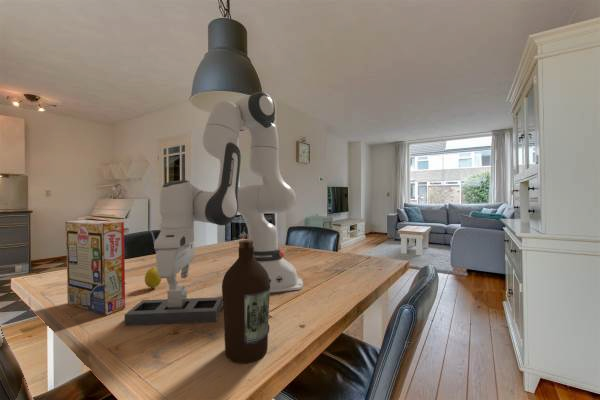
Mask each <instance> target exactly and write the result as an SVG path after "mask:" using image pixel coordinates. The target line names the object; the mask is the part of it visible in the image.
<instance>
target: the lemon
mask: <svg viewBox="0 0 600 400" xmlns="http://www.w3.org/2000/svg"><path fill="white" fill-rule="evenodd" d="M144 283H145V285H146V286H147V287H148V288H151V289H155V288H156V287H158V286H159V285H160V284H161V283H162V278H160V277H159V276H158V273H157V267H156V268H155V267H151V268H150V269H148V270H147V271H146V273H145V276H144Z"/></svg>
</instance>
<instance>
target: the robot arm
mask: <svg viewBox="0 0 600 400" xmlns="http://www.w3.org/2000/svg"><path fill="white" fill-rule="evenodd" d="M275 114H276V107H275V102H274V100H273V99H272V97H271V96H270V94H268V93H266V92H264V91H263V92H262V91H259V92H258V91H257V92H253V93H251V94H249V95H246V96H243V97H240V99H238V100H236V101H235V102H231V101H228V100H219V101H218V102H216V103H215V104H214V106H213V107H212V109H211V111H210V114H209V116H208V119H207V120H206V124H205V128H204V131H203V135H202V144H203V148H204V149H205V151H206V152H207V153H208V154H209V155H211V156H212V157H214V158H216V159H218V160H219V162H220V167H219V175H218V183H217V188H216V189H215V190H214V191H207V190H206V191H204V190H203V189H200V188H198V187H196V186H194V185H193V184H192V183H191V182H190V181H189V180H185V179H183V180H181V179H180V180H172V181H167V182H166V183H164V184H163V185H162V186H161V188H160V193H159V214H160V217H161V223H160V232H159V234H158V236H157V238H156V239H155V240H154V242H153V245H154V246H153V249H155V250H156V253H155V254H156V255H155V260H156V262H155V264H156V269H157V273H158V276H159V277H160V278H161V279H166V281H167V284H168V290H175V289H176V288H177V287H178V286H179V285H178V281H177V274H179V272H180V271H181V272H180V278H181V279H186V278H188V277H189V271H190V265H191V264H190V263H191V262H192V260H194V259H195V226H194V225H195V224H194V223H195V222H201V223H210V224H214V225H218V226H226V225H229V224H230V223H231V222H233V221H234V219H235V218H236V217H237V214H238V213H239V214H240V215H241V217H242V218H243V220H244V222H245V226H246V228H247V234H248V235H247V236H248V240H252V241H253V247H254V258H255V259H256V260H257V261H258V262H259V263H260V264H261V265H262V266H263V267H264V269H265V270H266V271H267V273H268V276H269V279H270V294H272V293H281V292H288V291H289V292H290V291H299V290H301V289H302V288H303V287H304V282H303V279H302V278H301V277H299V276H298V273H297V269H296V267H295V266H294V265H293V264H292V263H291V262H289V261H288V260H286V259H284V256H285V253H284V251H283V249H281V248H279V247H278V246H279V245H278V241H279V240H278V235H279V234H278V229H277V227H276V226H275V225H274V224H273V223H270V222H269V221H268V220H267V219H266V218H265V214H284V213H288V212H291V211H292V210H293V209H294V207H295V205H296V203H297V202H296V201H297V195H296V192H295V191H294V189H293V187H291V186H290V185H289V184H288V183H286V181H285V180H284V178H283V176H282V173H281V172H280V161H279V160H280V159H279V153H280V152H279V151H280V143H279V132H278V128H277V125H275V124H274V122H275V120H276V119H275V118H276V115H275ZM246 130H248V131H249V133H250V137H251V138H250V139H251V140H250V150H249V152H250V153H249V168H250V171H252V173H253V174H255V175H256V176H259V177H261V178H262V184H251V185H250V184H246V185H242V186H241V185H240V186H239V182H240V181H239V180H240V174H241V173H240V172H241V171H240V170H241V159H242V156H241V155H242V154H241V149H240V148H239V146H238V139H239V135H240V132H243V131H246Z"/></svg>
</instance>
